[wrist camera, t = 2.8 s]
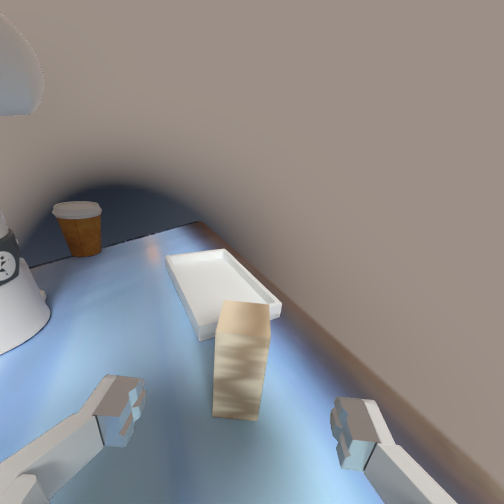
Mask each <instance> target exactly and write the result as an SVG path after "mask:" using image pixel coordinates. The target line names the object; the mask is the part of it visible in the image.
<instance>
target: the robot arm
mask: <svg viewBox="0 0 504 504" xmlns="http://www.w3.org/2000/svg"><path fill="white" fill-rule="evenodd" d="M43 93H44V77H43V72H42V69H41V66H40V63H39V61H38V58H37V56H36V54H35V53H34V51H33V49H32V47H31V46H30V44H29V43H28V41H27V40H26V39H25V37H24V36H23V35H22V34H21V32H20V31H19V30H18V29H17V28H16V27H15V26H14V25H13V24H12V23H11V22H10V21H9V20H8V19H7V18H6V17H5V16H3V15H2V14H1V13H0V116H13V115H29V114H31V113H32V112H33V111H34V110H35V109H36V108H37V107H38V106H39V104H40V102H41V100H42V97H43ZM18 244H19V243H18V241H17V238H16V237H15V235H14V233H13V231H12V230H10V229H8V228H7V225H6V222H5V219H4V216H3V213H2V210H1V207H0V354H3V353H5V352H7V351H9V350H11V349H13V348H15V347H16V346H18V345H20V344H22V343H23V342H25V341H26V340H28V339H29V338H31V337H32V336H33V335H35V334H36V333H37V332H38V331H39V330H41V329H42V328H43V326H44V325H45V324H46V323H47V321H48V320H49V317H50V309H49V307H48V306H47V305H46V303H45V300H46V294H45V292H44V290H39V288H38V286H37V284H36V282H35V280H34V278H33V276H32V274H31V272H30V270H29V267H28V266H27V264H26V262H25V260H24V259H23V258H21V257H20V255H21V252H20V250H19V246H18ZM144 385H145V381H144V379H142V378H134V377H125V376H117V375H106V376H105V377H104V378H103V379H102V380H101V382H100V383H99V384H98V386H97V387H96V388H95V390H94V391H93V393H92V394H91V395H90V397H89V398H88V400H87V401H86V402H85V404H84V405H83V407H82V408H81V409H80V411H79V412H78V413H77V414H72V415H71V416H69V417H68V418H66V419H65V420H63V421H62V422H60V423H59V424H57V425H56V426H54V427H53V428H51V429H50V430H49V431H47V432H46V433H44V434H43V435H41V436H40V437H38V438H37V439H35V440H34V441H32V442H31V443H29V444H28V445H26V446H25V447H24V448H22V449H21V450H19V451H18V452H16V453H15V454H13V455H12V456H10V457H9V458H7V459H6V460H4V461H3V462H1V463H0V504H50V502H49V500H50V499H51V498H52V497H53V496H54V495H55V494H56V493H57V492H58V491H59V490H60V489H62V488H63V487H64V486H65V485H66V484H67V483H68V482H69V481H70V480H71V479H72V478H73V477H74V476H75V475H76V474H77V473H78V472H79V471H80V470H81V469H82V468H83V467H84V466H85V465H86V464H87V463H88V462H89V461H90V460H91V459H93V458H94V457H95V456H96V455H97V454H98V453H99V452H100V451H101V450H102V449H103V448H104V446H110V447H126V446H127V444H128V442H129V440H130V438H131V436H132V434H133V432H134V429H135V427H134V422H135V421H136V420H137V419H138V418H140V417H141V414H142V412H143V410H144V407H145V403H146V397H147V395H146V391H145V390H144V389H143V387H144ZM334 404H335V408H333V409H332V411H331V414H330V424H331V430H332V435H333V437H334V438H335V439H336V440H337V441H338V444H337V447H336V451H337V455H338V458H339V462H340V466H341V469H347V470H355V471H362V472H364V475H365V476H366V478H367V479H368V481H369V482H370V483H371V485H372V486H373V488H374V489H375V491H376V492H377V493H378V495H379V496H380V498H381V499H382V501H383V502H384V503H385V504H457V503H456V502H455V501H454V500H453V499H452V498H451V497H450V496H449V495H448V494H447V493H446V492H445V491H444V490H443V489H442V488H441V487H440V486H439V485H438V484H437V483H436V482H435V481H434V480H433V479H432V478H431V477H430V476H429V475H428V474H427V473H426V472H425V471H424V469H423V468H422V467H421V466H420V465H419V464H418V463H417V462H416V461H415V460H414V459H413V458H412V457H411V456H410V455H409V454H408V453H407V452H406V451H405V450H404V449H403V448H402V447H401V446H400V445H395V442H394V440H393V438H392V436H391V434H390V432H389V429H388V427H387V425H386V423H385V421H384V419H383V417H382V414H381V412H380V410H379V408H378V406H377V404H376V402H375V401H374V400H367V399H360V398H347V397H336V398H335V401H334Z"/></svg>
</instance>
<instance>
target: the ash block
mask: <svg viewBox="0 0 504 504" xmlns="http://www.w3.org/2000/svg"><path fill="white" fill-rule="evenodd" d="M270 339H271V334H270V310H269V304H260V303H250V302H240V301H230V300H224V302H223V305H222V309H221V313H220V317H219V321H218V324H217V328H216V332H215V359H214V386H213V412H212V417H219V418H229V419H239V420H248V421H258V414H259V408H260V402H261V395H262V389H263V383H264V376H265V370H266V364H267V357H268V351H269V345H270Z"/></svg>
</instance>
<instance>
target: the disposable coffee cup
mask: <svg viewBox="0 0 504 504" xmlns="http://www.w3.org/2000/svg"><path fill="white" fill-rule="evenodd" d="M101 211H102V209H101V208H100V207H99V205H98V204H97V203H94V202H86V201H85V202H84V201H83V202H82V201H78V202H77V201H75V202H65V203H59V204H56V205H54V210H53V211H52V213H53V214H54V215H55V216H56V218H57V220H58V223H59V225H60V227H61V230H62V232H63V235H64V237H65V240H66V242H67V245H68V247H69V249H70V252H71V254H72V255H73V256H76V257H87V256H92V255H96V254H98V253H100V252H101V226H100V225H101V222H100V214H101Z"/></svg>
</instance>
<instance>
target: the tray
mask: <svg viewBox="0 0 504 504" xmlns="http://www.w3.org/2000/svg"><path fill="white" fill-rule="evenodd" d="M165 259H166V268H167V271H168V273H169V275H170V277H171V280H172V282H173V284H174V286H175V289H176V291H177V293H178V295H179V298H180V300H181V302H182V304H183V307H184V309H185V311H186V313H187V316H188V318H189V320H190V322H191V325H192V327H193V329H194V331H195V334H196V336H197V338H198V340H199V342H201V341H204V340H207V339H211V338H214V337H215V332H216V328H217V324H218V321H219V317H220V313H221V309H222V305H223V302H224V300H230V301H240V302H250V303H260V304H269V310H270V320H272V319H275V318H278V317H280V312H281V306H282V303H281V302H280V301H279V300H278V299H277V298H276V297H275V296H274V295H273V294H272V293H270V292H269V291H268V290H267V289H266V288H265V287H264V286H263V285H262V284H261V283H260V282H259V281H258V280H257V279H256V278H255V277H254V276H253V275H252V274H251V273H250V272H248V271H247V270H246V269H245V268H244V267H243V266H242V265H241V264H240V263H239V262H238V261H237V260H236V259H235V258H234V257H233V256H232V255H231V254H230V253H229V252H228V251H226V250H225V249H218V250H210V251H202V252H193V253H185V254H177V255H169V256H165Z"/></svg>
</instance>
